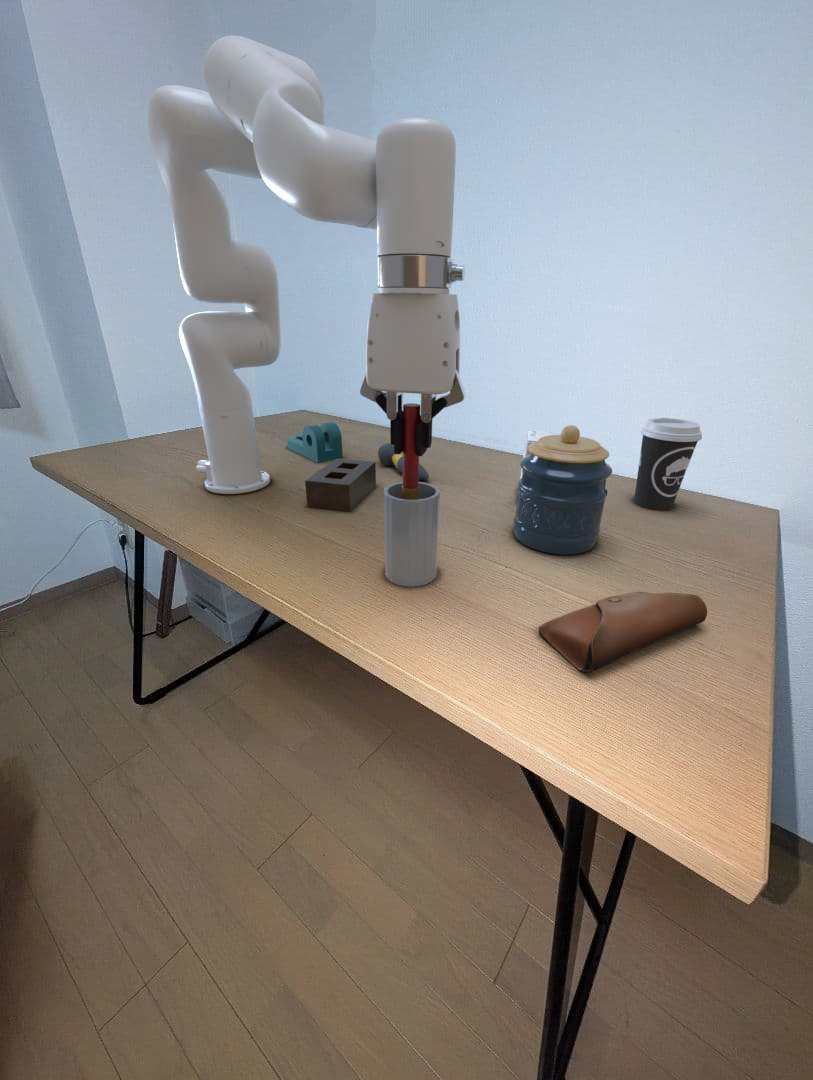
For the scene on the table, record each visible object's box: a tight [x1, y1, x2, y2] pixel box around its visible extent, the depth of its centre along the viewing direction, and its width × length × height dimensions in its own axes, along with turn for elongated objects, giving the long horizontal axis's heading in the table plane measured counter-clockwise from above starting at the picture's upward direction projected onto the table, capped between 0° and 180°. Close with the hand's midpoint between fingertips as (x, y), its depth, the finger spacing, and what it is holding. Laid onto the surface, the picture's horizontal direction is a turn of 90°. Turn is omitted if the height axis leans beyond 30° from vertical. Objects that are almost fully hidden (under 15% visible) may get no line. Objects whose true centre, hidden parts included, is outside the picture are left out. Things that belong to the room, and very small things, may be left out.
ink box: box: [519, 430, 554, 480], centre depth 88 cm, size 9×5×12 cm, turn 167°
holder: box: [304, 458, 377, 512], centre depth 90 cm, size 8×14×5 cm, turn 165°
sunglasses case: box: [538, 591, 708, 673], centre depth 52 cm, size 18×7×7 cm
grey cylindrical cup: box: [383, 481, 441, 588], centre depth 62 cm, size 7×7×12 cm
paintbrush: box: [377, 442, 430, 481], centre depth 103 cm, size 20×5×5 cm, turn 38°
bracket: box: [286, 421, 344, 464], centre depth 116 cm, size 18×7×8 cm, turn 39°
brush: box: [402, 402, 421, 500], centre depth 58 cm, size 3×3×16 cm
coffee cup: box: [633, 417, 703, 511], centre depth 84 cm, size 10×10×15 cm
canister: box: [512, 424, 613, 555], centre depth 71 cm, size 13×13×18 cm
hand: (410, 451), depth 57 cm, fingers closed on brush, 2 cm apart
